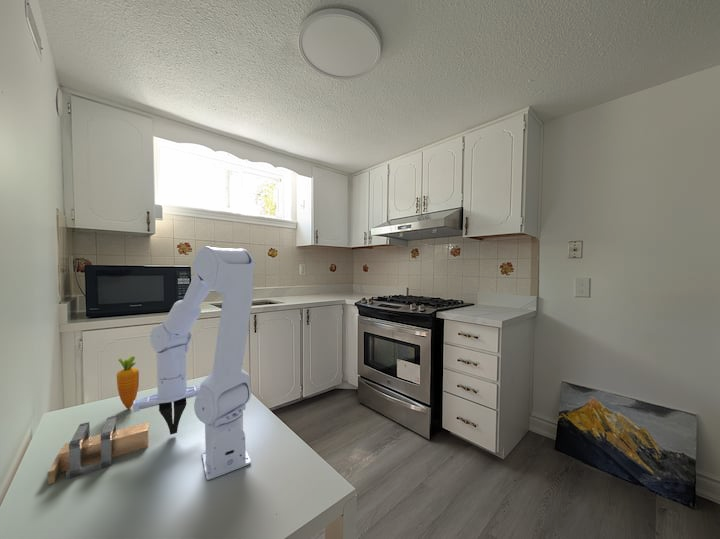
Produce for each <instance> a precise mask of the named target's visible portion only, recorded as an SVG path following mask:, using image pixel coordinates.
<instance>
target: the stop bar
mask: <svg viewBox="0 0 720 539" xmlns="http://www.w3.org/2000/svg"><path fill="white" fill-rule="evenodd" d="M62 448H63V447H61V448H60V450H59V452H58V453H57V455H56V457H55V459H54V460H53V462H52V464H51V465H50V468H49V469H48V470H47V485H49V486H50V485H51V484H55V482H56V480H57V479H58V476H59V475H60V474H61V473H60V469H59V453H60V452H61V450H62Z"/></svg>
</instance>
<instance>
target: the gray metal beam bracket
mask: <svg viewBox="0 0 720 539" xmlns="http://www.w3.org/2000/svg"><path fill="white" fill-rule="evenodd" d="M117 426H118V425H117V415H114V416H109V417H107V419H106V421H105V424H104V426H103V429H102V432H101V434H100V435H101V460H97V461H94V462H91V463H87V464H84V465H82V441H83V439H85V438H89V437H91V432H90V431H91V430H90V429H91V428H90V421H88V422H83V423H80V424H79V425H78V427H77V429H76V431H75V432H74V435H73V436H72V438H71V440H70V442H69V443H70V444H69V462H70V469H68V470H67V471H65V472H66V473H65V476H66V477H65V480H69V479H72V478H76V477H78V476H81V475H84V474H87V473H91V472H94V471H97V470H100V469H104V468H107V467H110V466H112V464H113V457H112V433H113V431H116V430H118V427H117Z"/></svg>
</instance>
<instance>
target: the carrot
mask: <svg viewBox="0 0 720 539" xmlns="http://www.w3.org/2000/svg"><path fill="white" fill-rule="evenodd" d="M117 359H118V362H119V363H120V364H121V366H122V369H121V370H119V371H118V372H117V373H116V384H117V387H116V388H117V392H118V395H119V398H120V401H121V403H122V404H123V406H124V407H125V409H127V410H129V409H131V408H133V402H134V400H137V399H136V398H137V395H138V391H139V385H140V371H139V369H137V368H136V367H133V366H134V365H136V364H137V363H136V362H134V360H135V359H136V356H135V355H131V356H130V357H128V359H127V358H126V359H124V360H123V359H122V358H121V357H120V358H117Z"/></svg>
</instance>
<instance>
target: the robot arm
mask: <svg viewBox="0 0 720 539" xmlns="http://www.w3.org/2000/svg"><path fill="white" fill-rule="evenodd" d="M194 257H195V258H194V260H193V261H192V268H193V273H194V274H193V276H192V279H191V281H190V283H189V286H188V288H187V290H186V292H185V294H184V297H183V299H179V300H177V301H176V302H174V303H173V305H172V307H171V309H170V311H169V312H168V314H167V316H166V317H165V319H164V321H163V322H162V323H159V325H155V326H154V327H152V329H151V331H150V335H149V341H150V345H151V347H152V349H153V350H154V351H155V352H156V373H157V374H156V380H157V382H156V384H157V393H154V394H152V395H149V396H145V397H142V398H139V399H135V400H134V402H133V405H132V412H133V413H136V412H139V411H140V410H144V409H149V408H152V407H157V406H158V412H159V413H160V415H161V416H162V417H163V419H164V420H165V422H166V425H167V426H168V430H169V435H175V434H177V433H178V429H179V428H178V427H179V423H180V421H181V418H182V415H183V412H184V410H185V409H186V406H187V399H191V398H194V397H195V399H194V404H193V410H194V413H195V416H196V418H197V420H199V422H201V423H202V424H204V431H205V432H204V434H205V435H204V439H205V440H204V442H205V443H204V444H205V446H204V447H205V450H202V451H201V456H202V461H203V462H202V463H203V468H204V472H205V477H206V478H205V479H206V480H207V481H209V480H213V479H215V478H218V477H220V476H223V475H225V474H228V473H230V472H233V471H235V470H239V469H240V468H241V469H242V468H243V467H245V466H248V465H250V464H251V462H252V461H251V458H250V456H249V454H248V451H247V448H246V434H245V431H244V411H245V410H246V408H247V407H246V406H247V405H246V404H248V402H249V401H250V400H251V396H252V388H251V382H250V381H251V375H250V374H249V373H248V372H247V371H246V370H244V369H243V362H244V357H245V349H246V343H247V337H248V331H249V323H250V317H251V312H252V306H253V297H254V275H255V274H254V273H255V267H256V261H255V259H254V257H253V256H252V255H251V253H250V252H249V251H248V250H247V249H245V248H225V247H224V248H223V247H211V246H203V247H200V249H198V251H197V253H196V254H195V256H194ZM212 290H213V292H216V293H219V294H220V295H221V297H222V304H221V311H220V318H219V325H218V331H217V338H216V345H215V352H214V353H215V354H214V358H213V359H214V360H213V366H212V371H210V373H209V374H208V375H207V377H206V378H205V379H204V380H203V381H202V382H201V383H200V385H194V386H193V385H192V386H188V385H187V383H188V382H187V353H188V351H189V344H190V343H191V341H192V334H191V330H192V328H193V326H194V325H195V323H196V322H197V320H199V317H200V315H201V314H202V310H201V304H202V303H203V302H204V300H205V299H206V298H207V296H208V295H209V294H210V293H211V291H212Z"/></svg>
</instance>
